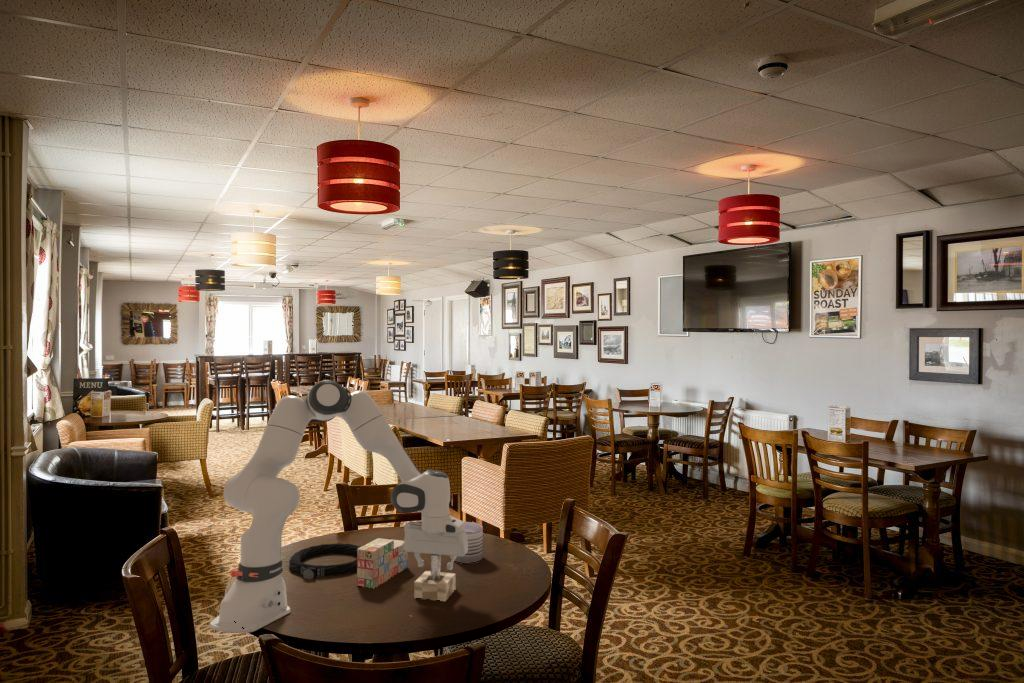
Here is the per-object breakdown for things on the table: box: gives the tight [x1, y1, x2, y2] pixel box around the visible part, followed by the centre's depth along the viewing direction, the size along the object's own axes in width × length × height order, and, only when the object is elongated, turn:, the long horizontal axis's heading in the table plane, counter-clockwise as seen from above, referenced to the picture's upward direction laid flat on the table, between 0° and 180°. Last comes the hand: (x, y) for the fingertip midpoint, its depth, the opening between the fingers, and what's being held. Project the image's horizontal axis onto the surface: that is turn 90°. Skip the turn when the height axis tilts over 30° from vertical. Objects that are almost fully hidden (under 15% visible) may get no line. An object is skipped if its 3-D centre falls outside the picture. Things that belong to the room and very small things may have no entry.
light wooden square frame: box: [413, 570, 457, 602], centre depth 206 cm, size 10×10×5 cm
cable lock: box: [288, 542, 361, 580], centre depth 232 cm, size 28×4×30 cm
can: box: [455, 521, 484, 563], centre depth 239 cm, size 11×11×12 cm
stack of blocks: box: [356, 537, 409, 590], centre depth 220 cm, size 21×6×12 cm, turn 159°
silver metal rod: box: [430, 554, 442, 581], centre depth 206 cm, size 3×3×14 cm
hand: (435, 567), depth 206 cm, fingers open, 8 cm apart
